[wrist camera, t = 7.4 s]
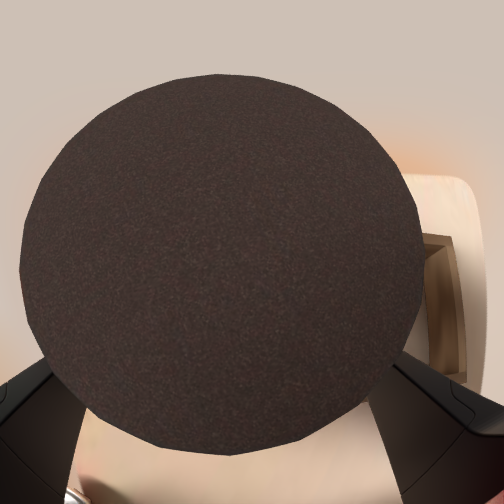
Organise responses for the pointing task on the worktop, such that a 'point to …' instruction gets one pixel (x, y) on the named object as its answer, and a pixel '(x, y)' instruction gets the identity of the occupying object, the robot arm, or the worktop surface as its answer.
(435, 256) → the tub
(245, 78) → the deodorant
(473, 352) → the worktop surface
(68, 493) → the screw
